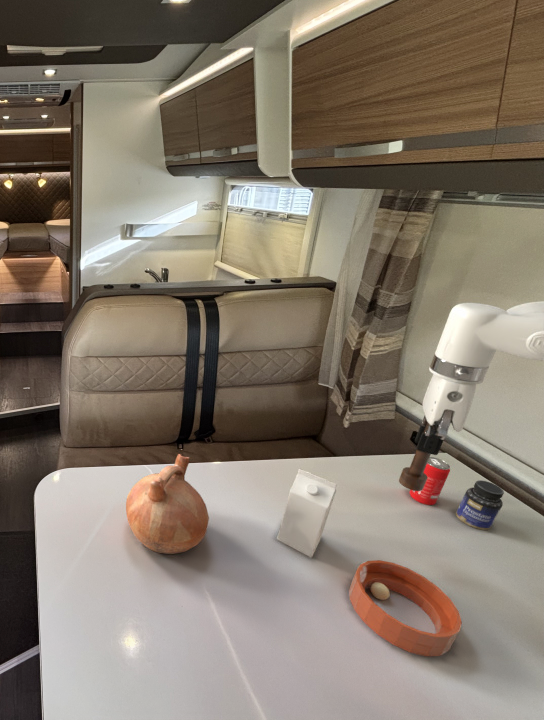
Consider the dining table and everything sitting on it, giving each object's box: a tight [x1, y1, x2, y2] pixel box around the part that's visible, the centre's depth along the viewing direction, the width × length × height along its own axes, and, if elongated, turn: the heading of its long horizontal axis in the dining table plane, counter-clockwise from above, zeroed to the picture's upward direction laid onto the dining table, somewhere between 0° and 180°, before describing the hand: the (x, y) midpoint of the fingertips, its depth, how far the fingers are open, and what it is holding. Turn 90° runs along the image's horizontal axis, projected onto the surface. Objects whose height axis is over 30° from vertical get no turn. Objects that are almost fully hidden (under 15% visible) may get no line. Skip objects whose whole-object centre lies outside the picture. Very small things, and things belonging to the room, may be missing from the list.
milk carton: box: [276, 468, 338, 558], centre depth 95 cm, size 7×7×19 cm
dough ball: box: [369, 582, 390, 601], centre depth 85 cm, size 3×3×3 cm
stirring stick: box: [398, 423, 438, 491], centre depth 88 cm, size 4×4×15 cm
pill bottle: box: [455, 479, 505, 531], centre depth 101 cm, size 6×6×11 cm
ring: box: [348, 559, 463, 658], centre depth 81 cm, size 15×15×6 cm
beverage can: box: [409, 456, 451, 506], centre depth 108 cm, size 5×5×12 cm
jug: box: [125, 453, 210, 555], centre depth 97 cm, size 18×18×20 cm
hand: (425, 447), depth 87 cm, fingers closed on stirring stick, 2 cm apart
